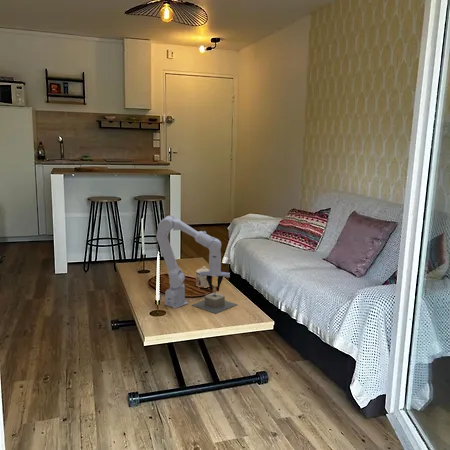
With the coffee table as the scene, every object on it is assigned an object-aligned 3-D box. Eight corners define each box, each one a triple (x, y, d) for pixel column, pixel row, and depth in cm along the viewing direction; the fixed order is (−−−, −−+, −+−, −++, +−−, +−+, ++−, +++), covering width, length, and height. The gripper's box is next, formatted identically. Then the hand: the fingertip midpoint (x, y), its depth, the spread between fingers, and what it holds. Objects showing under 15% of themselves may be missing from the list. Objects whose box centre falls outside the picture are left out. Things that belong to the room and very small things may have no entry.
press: (215, 313, 213) (215, 303, 213) (191, 305, 224) (191, 296, 223) (237, 305, 225) (237, 295, 224) (213, 297, 236) (213, 288, 235)
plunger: (214, 300, 220) (215, 289, 219) (207, 298, 224) (207, 286, 223) (221, 298, 224) (221, 286, 223) (214, 295, 227) (214, 284, 226)
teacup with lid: (193, 285, 256) (193, 265, 254) (209, 283, 259) (209, 263, 257) (199, 291, 245) (199, 270, 243) (215, 290, 248) (215, 269, 246)
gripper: (199, 265, 217) (198, 292, 220) (229, 266, 216) (228, 293, 219) (201, 261, 224) (200, 288, 227) (230, 262, 223) (229, 289, 226)
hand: (214, 290), depth 223 cm, fingers closed on plunger, 3 cm apart
